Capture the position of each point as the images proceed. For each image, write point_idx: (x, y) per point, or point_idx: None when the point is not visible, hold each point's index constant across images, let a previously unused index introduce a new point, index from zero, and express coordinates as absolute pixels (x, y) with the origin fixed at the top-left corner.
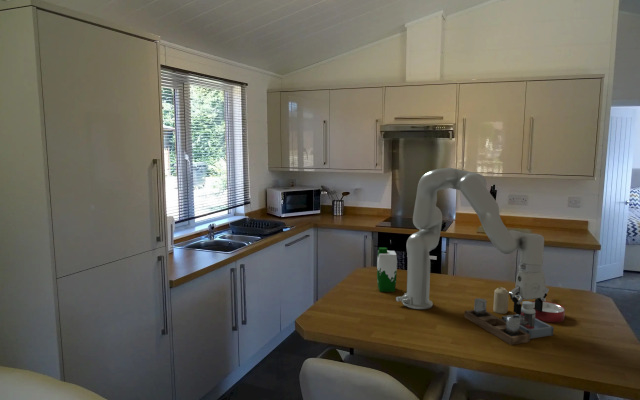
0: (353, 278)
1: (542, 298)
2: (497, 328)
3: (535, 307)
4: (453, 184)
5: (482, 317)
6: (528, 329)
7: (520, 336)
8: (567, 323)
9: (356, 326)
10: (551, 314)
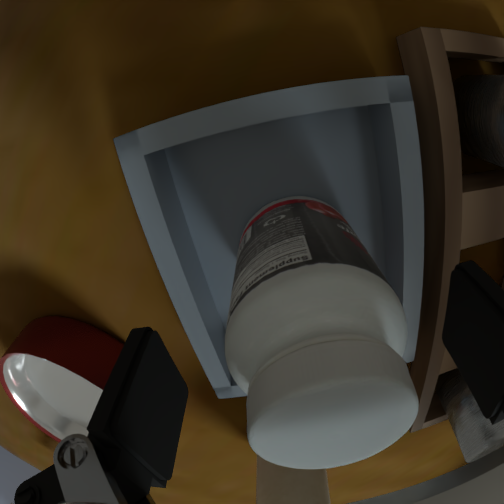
0: None
1: (79, 475)
2: None
3: (180, 398)
4: None
5: None
6: (397, 104)
7: (490, 38)
8: (15, 299)
9: None
10: (60, 353)
